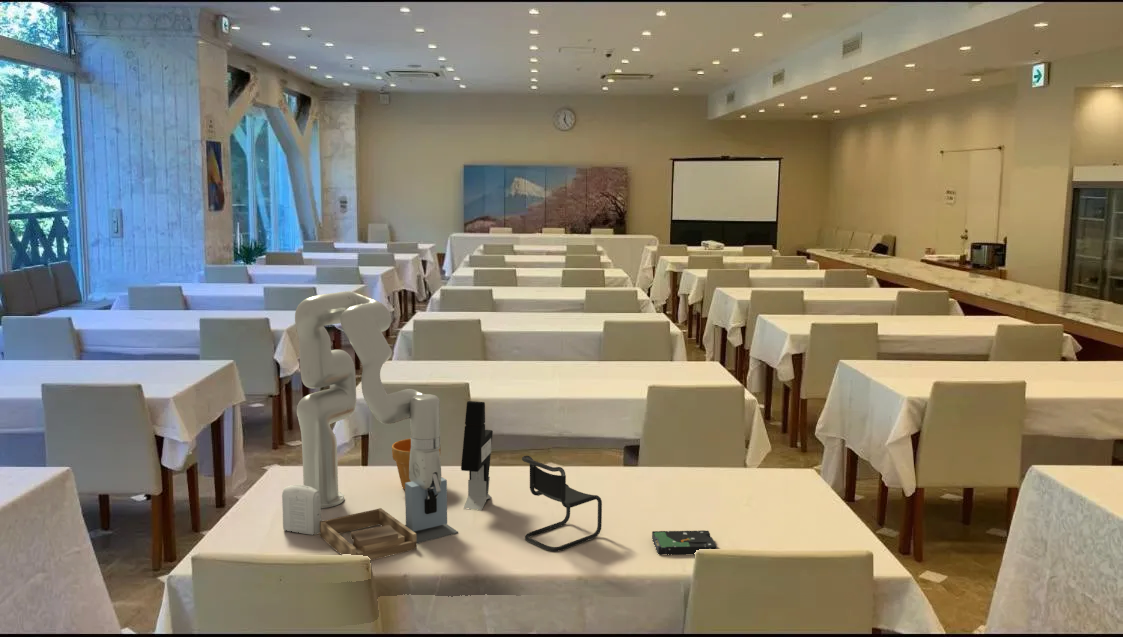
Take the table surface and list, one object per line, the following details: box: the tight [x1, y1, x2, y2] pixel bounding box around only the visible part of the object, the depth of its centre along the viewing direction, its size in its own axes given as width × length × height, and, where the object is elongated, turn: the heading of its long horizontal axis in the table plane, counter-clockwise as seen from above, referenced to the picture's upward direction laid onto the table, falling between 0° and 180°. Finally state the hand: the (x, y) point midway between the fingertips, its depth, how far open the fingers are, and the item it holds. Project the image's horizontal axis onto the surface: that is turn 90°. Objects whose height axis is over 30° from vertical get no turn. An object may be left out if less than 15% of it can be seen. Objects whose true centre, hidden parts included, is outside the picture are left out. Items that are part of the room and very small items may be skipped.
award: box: [460, 400, 494, 511], centre depth 262 cm, size 15×5×30 cm, turn 168°
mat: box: [404, 523, 459, 544], centre depth 244 cm, size 12×12×1 cm
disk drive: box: [651, 530, 718, 556], centre depth 235 cm, size 10×3×15 cm
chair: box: [521, 455, 603, 552], centre depth 239 cm, size 13×17×22 cm
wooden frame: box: [319, 507, 418, 561], centre depth 236 cm, size 21×17×4 cm
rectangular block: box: [404, 476, 448, 532], centre depth 243 cm, size 4×10×12 cm, turn 125°
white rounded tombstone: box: [281, 484, 322, 536], centre depth 242 cm, size 10×4×12 cm, turn 73°
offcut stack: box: [350, 525, 405, 554], centre depth 232 cm, size 8×12×4 cm, turn 125°
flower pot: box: [391, 438, 441, 490], centre depth 276 cm, size 14×14×13 cm
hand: (426, 509), depth 243 cm, fingers closed on rectangular block, 4 cm apart
